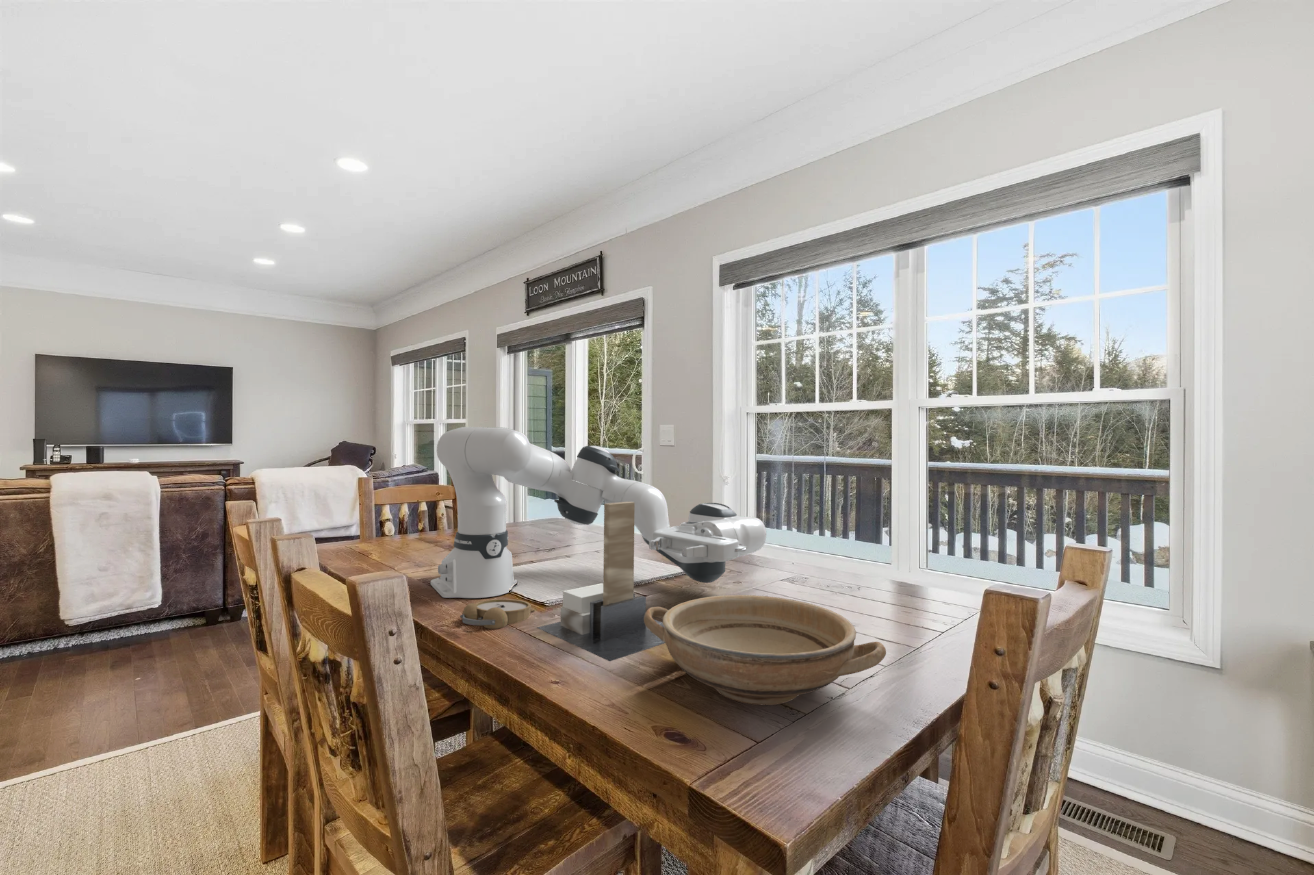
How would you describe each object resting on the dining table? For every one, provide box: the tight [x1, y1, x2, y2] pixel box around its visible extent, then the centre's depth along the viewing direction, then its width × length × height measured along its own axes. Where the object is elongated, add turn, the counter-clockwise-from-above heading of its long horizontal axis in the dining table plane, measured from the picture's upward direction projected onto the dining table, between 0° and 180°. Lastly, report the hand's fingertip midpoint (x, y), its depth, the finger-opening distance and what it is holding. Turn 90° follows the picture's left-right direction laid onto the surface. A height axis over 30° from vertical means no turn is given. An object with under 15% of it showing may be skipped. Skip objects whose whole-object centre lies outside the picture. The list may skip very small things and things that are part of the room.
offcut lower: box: [560, 606, 590, 635], centre depth 115 cm, size 7×12×4 cm, turn 133°
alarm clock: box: [459, 598, 535, 630], centre depth 117 cm, size 11×5×15 cm
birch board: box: [602, 502, 635, 605], centre depth 110 cm, size 2×6×24 cm, turn 133°
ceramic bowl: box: [644, 594, 887, 706], centre depth 89 cm, size 37×29×10 cm
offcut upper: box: [562, 582, 603, 614], centre depth 115 cm, size 6×10×3 cm, turn 133°
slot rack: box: [536, 593, 666, 662], centre depth 111 cm, size 22×20×7 cm
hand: (667, 549), depth 118 cm, fingers open, 8 cm apart
